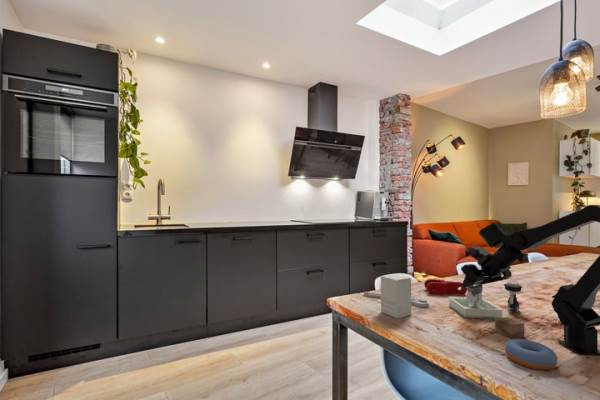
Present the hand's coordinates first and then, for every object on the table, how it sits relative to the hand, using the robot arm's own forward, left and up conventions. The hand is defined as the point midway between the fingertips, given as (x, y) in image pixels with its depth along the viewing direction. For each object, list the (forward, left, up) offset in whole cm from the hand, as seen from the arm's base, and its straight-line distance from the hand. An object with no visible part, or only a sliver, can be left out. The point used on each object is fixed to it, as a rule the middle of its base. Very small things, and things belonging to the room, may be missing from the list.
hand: (470, 285), depth 107 cm
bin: (-1, -1, -9) cm, 9 cm away
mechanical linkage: (+22, 0, -9) cm, 24 cm away
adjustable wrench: (+10, +24, -10) cm, 27 cm away
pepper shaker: (-1, -1, -8) cm, 9 cm away
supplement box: (-5, +27, -9) cm, 29 cm away
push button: (+1, -15, -9) cm, 17 cm away
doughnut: (-35, +3, -9) cm, 36 cm away
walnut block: (-19, -2, -9) cm, 21 cm away
